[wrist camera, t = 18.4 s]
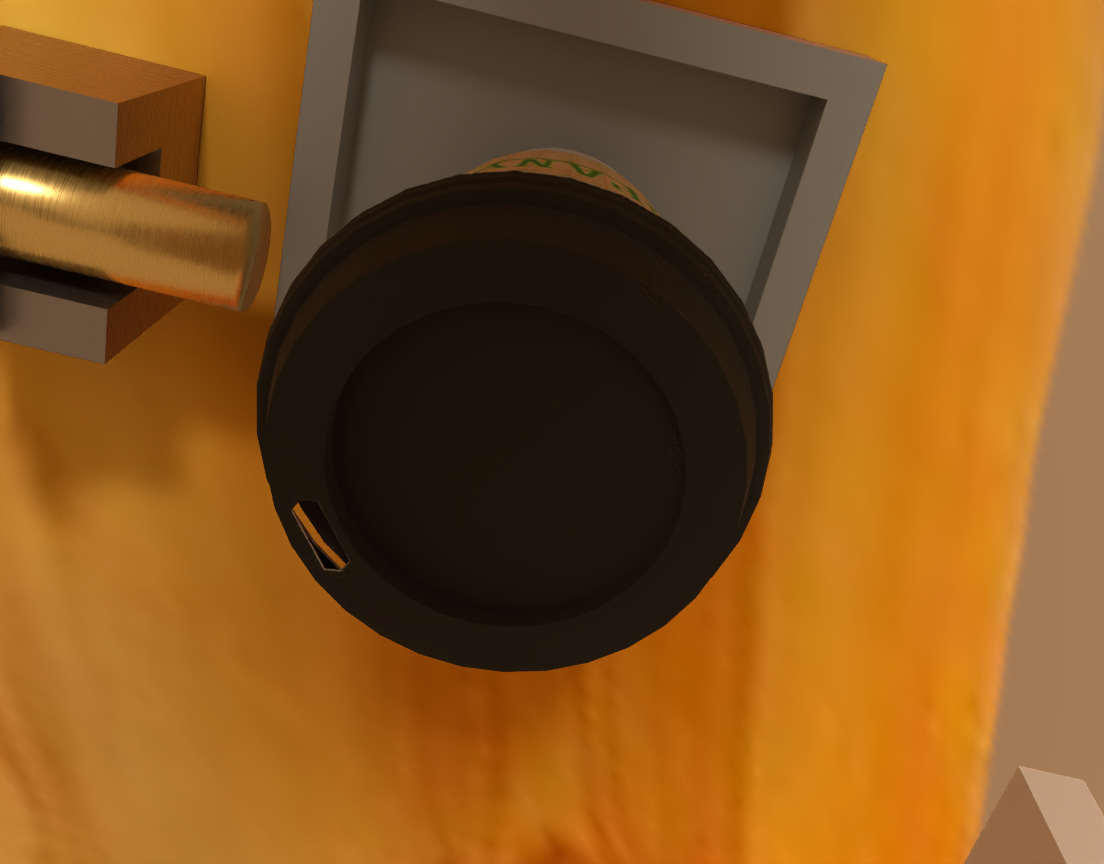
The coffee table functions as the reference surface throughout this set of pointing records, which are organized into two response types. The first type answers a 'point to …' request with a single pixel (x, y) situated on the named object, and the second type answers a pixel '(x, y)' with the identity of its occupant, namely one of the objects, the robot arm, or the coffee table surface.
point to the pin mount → (102, 138)
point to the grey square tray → (588, 122)
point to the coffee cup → (514, 415)
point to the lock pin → (132, 227)
